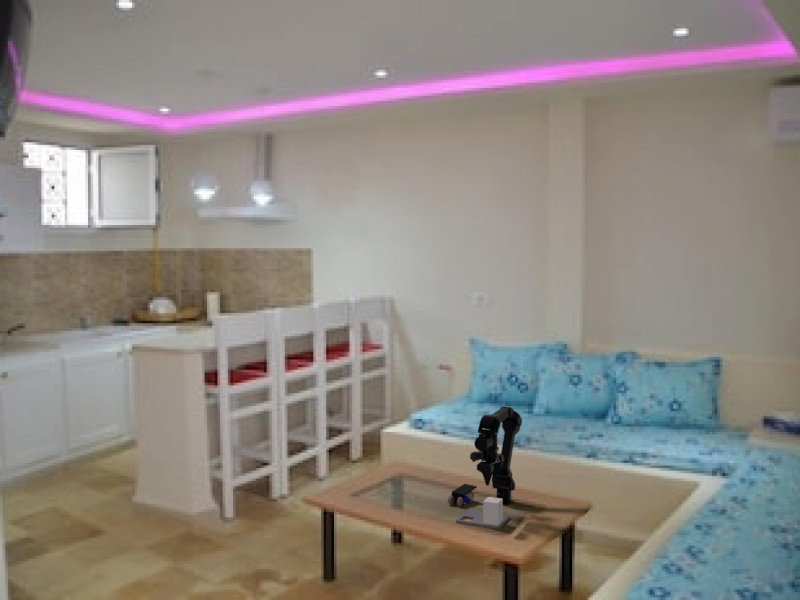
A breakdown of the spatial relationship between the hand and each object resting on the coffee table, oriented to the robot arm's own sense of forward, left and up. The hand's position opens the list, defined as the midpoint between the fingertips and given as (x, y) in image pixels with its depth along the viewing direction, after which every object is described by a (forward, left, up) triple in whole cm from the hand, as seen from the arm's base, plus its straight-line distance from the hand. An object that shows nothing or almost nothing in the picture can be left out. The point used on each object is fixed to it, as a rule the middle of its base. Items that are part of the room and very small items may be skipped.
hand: (490, 482), depth 298 cm
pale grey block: (+14, +12, -13) cm, 22 cm away
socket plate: (+12, +6, -13) cm, 19 cm away
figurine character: (+1, -15, -13) cm, 20 cm away
